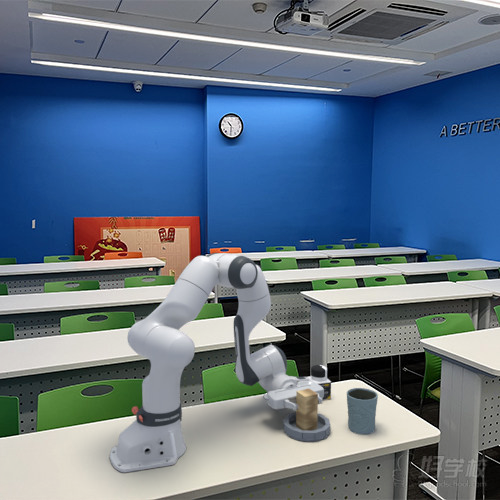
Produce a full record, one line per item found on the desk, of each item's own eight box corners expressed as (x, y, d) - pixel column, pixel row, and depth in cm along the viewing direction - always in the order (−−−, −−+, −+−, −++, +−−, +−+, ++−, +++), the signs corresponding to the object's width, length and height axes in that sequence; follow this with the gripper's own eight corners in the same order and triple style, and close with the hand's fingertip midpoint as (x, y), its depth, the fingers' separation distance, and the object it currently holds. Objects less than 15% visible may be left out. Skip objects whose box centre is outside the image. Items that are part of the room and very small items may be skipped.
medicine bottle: (313, 401, 184) (314, 370, 182) (306, 394, 191) (306, 364, 189) (331, 399, 186) (331, 368, 184) (323, 392, 192) (323, 362, 191)
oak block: (304, 432, 158) (305, 396, 157) (296, 425, 163) (296, 391, 161) (317, 428, 161) (317, 393, 159) (308, 422, 165) (309, 388, 164)
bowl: (300, 446, 152) (300, 437, 151) (275, 425, 165) (275, 417, 165) (339, 435, 159) (339, 426, 158) (312, 416, 172) (312, 408, 171)
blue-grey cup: (354, 437, 157) (355, 401, 156) (340, 422, 167) (341, 389, 166) (382, 433, 160) (383, 397, 158) (367, 419, 170) (368, 386, 168)
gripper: (260, 386, 167) (281, 401, 155) (310, 375, 176) (333, 389, 164) (260, 404, 168) (281, 420, 155) (309, 392, 177) (333, 407, 165)
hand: (308, 404), depth 160 cm, fingers open, 8 cm apart
